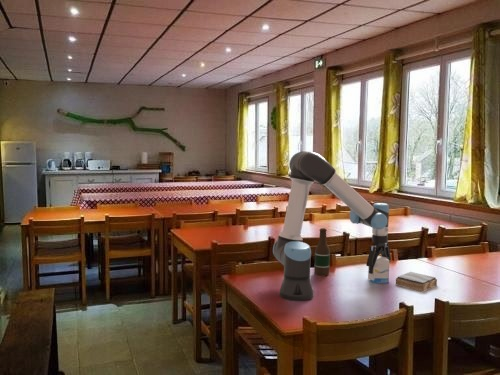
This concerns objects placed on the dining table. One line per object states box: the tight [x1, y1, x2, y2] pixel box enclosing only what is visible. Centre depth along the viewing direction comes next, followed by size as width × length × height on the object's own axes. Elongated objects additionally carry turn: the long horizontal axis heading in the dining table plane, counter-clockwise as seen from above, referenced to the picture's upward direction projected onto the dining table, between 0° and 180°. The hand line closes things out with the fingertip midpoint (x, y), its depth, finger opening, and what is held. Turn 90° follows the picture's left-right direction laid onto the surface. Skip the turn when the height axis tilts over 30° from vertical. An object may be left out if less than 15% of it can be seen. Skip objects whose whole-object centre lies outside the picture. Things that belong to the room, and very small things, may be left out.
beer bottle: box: [313, 228, 331, 277], centre depth 243 cm, size 8×8×24 cm
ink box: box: [367, 255, 391, 284], centre depth 233 cm, size 9×8×12 cm
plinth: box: [395, 271, 438, 292], centre depth 227 cm, size 14×14×4 cm
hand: (378, 277), depth 233 cm, fingers closed on ink box, 11 cm apart
